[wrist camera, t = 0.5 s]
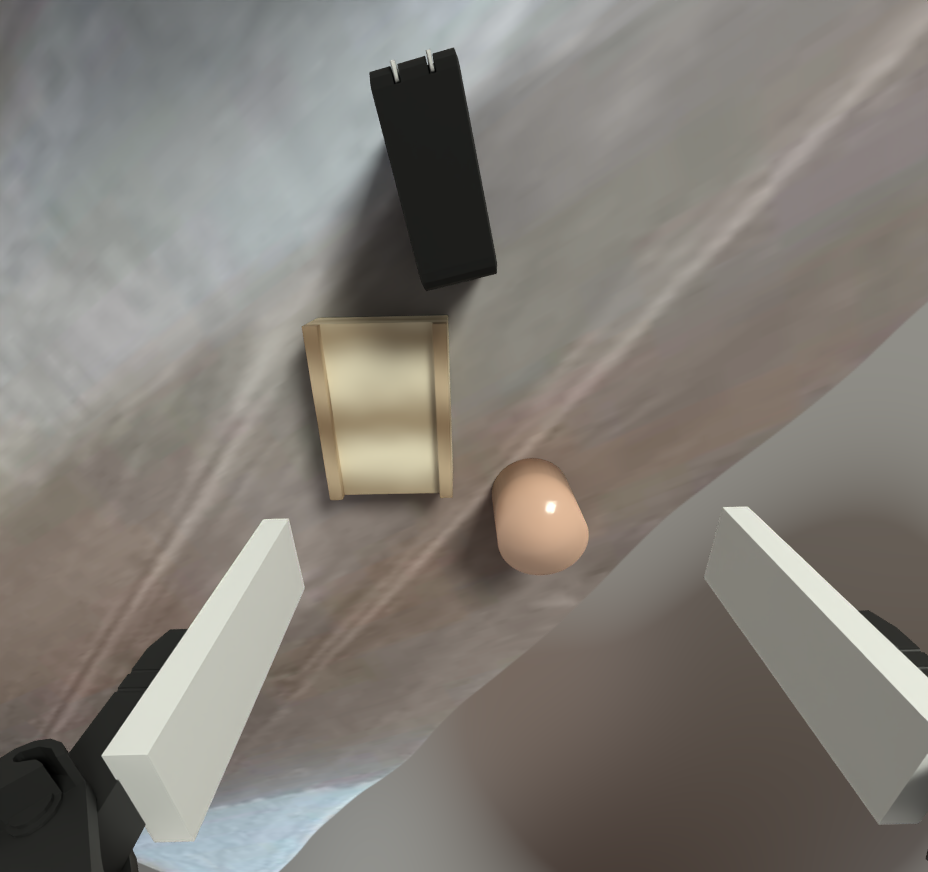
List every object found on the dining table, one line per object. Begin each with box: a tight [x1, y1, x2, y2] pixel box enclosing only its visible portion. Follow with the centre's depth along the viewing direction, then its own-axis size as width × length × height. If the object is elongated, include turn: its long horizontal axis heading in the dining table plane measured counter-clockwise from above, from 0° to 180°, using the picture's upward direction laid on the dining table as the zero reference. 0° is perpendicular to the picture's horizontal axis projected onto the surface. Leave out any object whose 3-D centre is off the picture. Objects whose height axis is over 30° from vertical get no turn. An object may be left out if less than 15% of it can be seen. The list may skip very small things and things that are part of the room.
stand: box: [302, 315, 453, 500], centre depth 35 cm, size 14×10×4 cm
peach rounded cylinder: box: [492, 458, 589, 575], centre depth 37 cm, size 7×7×7 cm
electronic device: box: [369, 48, 497, 291], centre depth 26 cm, size 4×10×10 cm, turn 13°
